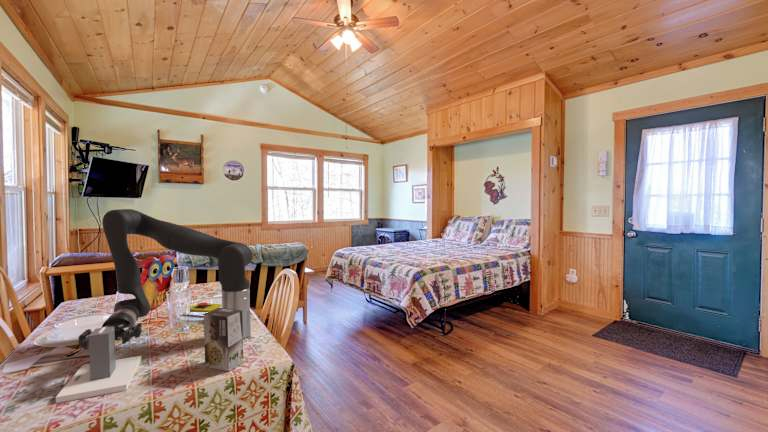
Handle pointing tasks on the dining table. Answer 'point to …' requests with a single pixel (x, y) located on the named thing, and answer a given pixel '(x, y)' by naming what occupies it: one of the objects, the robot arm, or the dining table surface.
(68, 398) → the shaft base
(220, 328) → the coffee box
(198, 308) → the emergency button
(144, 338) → the dining table surface
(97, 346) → the tall gray prism
